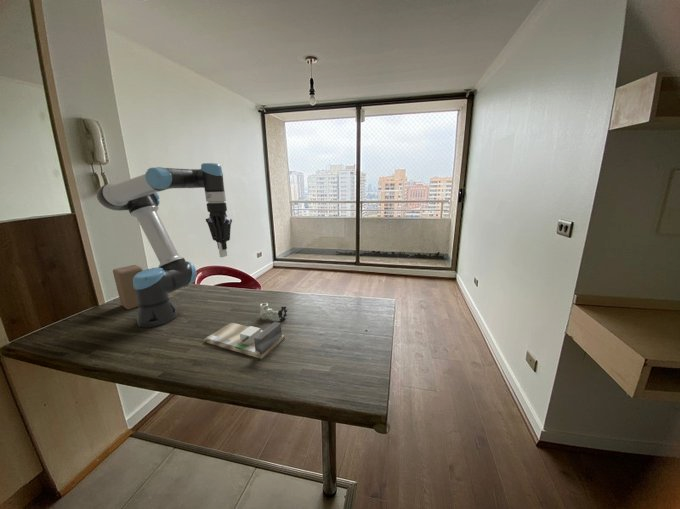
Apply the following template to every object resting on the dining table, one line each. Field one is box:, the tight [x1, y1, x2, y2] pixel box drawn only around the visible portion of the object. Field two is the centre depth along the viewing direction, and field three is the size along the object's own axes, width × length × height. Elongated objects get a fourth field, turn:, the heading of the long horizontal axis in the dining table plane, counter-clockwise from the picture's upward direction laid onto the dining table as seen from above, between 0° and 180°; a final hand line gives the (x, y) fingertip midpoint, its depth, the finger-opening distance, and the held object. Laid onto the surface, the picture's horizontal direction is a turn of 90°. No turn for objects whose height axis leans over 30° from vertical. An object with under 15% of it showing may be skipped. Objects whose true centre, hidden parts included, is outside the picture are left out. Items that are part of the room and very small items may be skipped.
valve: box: [259, 302, 288, 321], centre depth 120 cm, size 7×7×12 cm
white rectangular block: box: [240, 325, 262, 344], centre depth 101 cm, size 5×9×4 cm, turn 157°
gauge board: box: [204, 321, 286, 360], centre depth 103 cm, size 28×14×7 cm, turn 67°
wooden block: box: [112, 264, 143, 310], centre depth 134 cm, size 10×10×20 cm
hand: (223, 256), depth 116 cm, fingers closed
